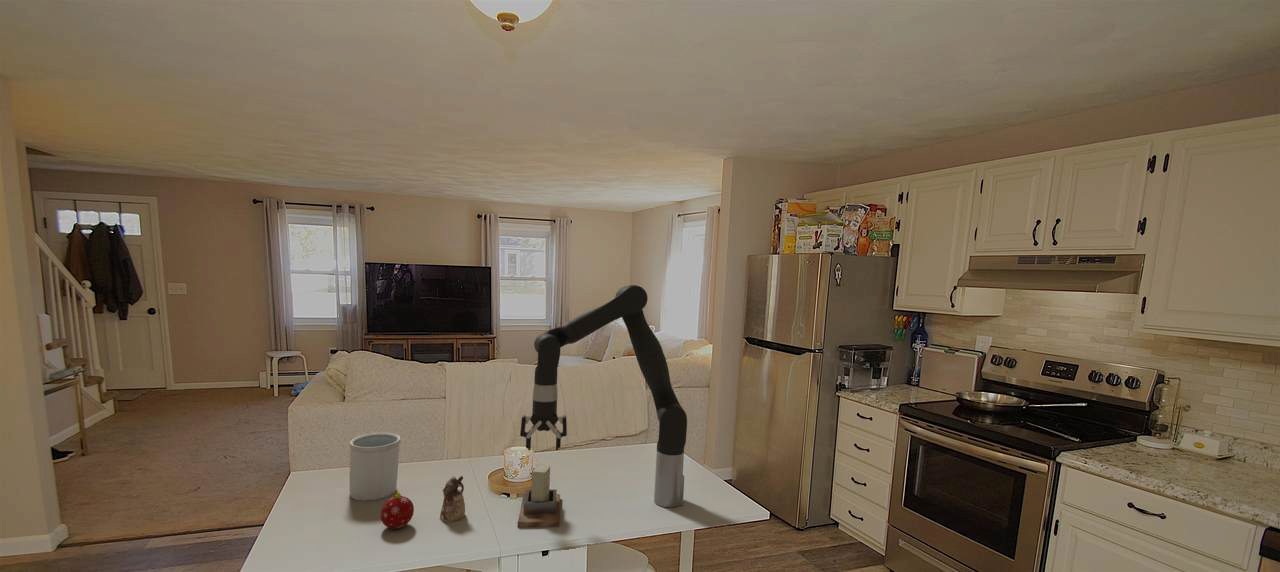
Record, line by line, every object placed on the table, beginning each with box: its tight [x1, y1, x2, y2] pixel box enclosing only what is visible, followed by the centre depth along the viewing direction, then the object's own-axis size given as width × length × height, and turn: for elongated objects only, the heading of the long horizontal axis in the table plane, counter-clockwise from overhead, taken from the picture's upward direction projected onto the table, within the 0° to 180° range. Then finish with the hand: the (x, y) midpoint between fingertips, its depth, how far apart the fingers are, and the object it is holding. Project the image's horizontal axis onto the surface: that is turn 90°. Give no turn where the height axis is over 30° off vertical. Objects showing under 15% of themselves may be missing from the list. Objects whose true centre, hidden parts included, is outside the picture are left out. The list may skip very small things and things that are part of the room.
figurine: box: [439, 475, 466, 523], centre depth 152 cm, size 7×7×12 cm
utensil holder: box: [349, 432, 402, 502], centre depth 166 cm, size 15×15×18 cm
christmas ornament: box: [380, 491, 415, 530], centre depth 145 cm, size 9×9×10 cm
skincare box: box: [530, 464, 551, 502], centre depth 158 cm, size 6×4×12 cm
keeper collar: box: [523, 489, 558, 515], centre depth 158 cm, size 10×10×4 cm
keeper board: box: [517, 493, 561, 528], centre depth 158 cm, size 12×19×2 cm, turn 8°
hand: (543, 449), depth 158 cm, fingers open, 8 cm apart
